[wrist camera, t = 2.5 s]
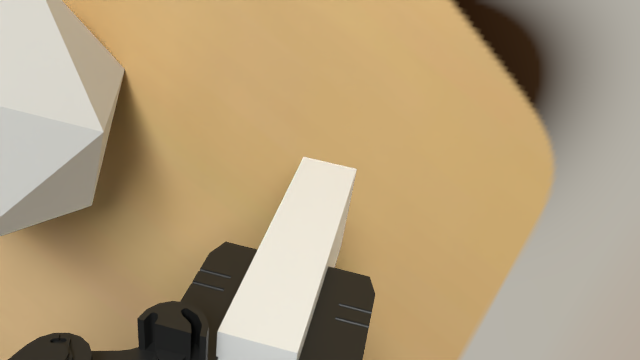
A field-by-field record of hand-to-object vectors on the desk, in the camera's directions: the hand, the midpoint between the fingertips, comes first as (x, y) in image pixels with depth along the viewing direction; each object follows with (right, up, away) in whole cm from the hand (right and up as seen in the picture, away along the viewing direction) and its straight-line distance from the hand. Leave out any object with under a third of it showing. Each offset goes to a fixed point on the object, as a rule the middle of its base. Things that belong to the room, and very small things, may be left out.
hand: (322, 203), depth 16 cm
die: (-10, +5, +5) cm, 12 cm away
